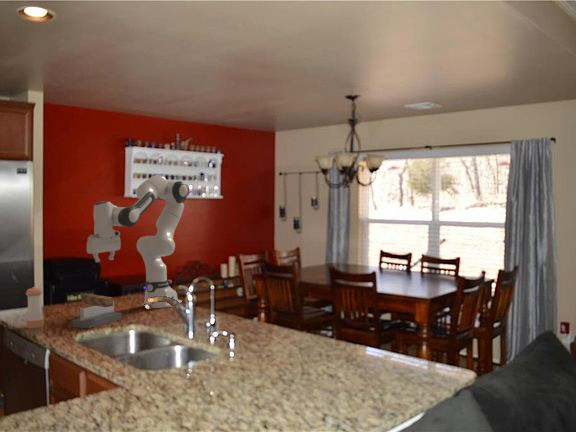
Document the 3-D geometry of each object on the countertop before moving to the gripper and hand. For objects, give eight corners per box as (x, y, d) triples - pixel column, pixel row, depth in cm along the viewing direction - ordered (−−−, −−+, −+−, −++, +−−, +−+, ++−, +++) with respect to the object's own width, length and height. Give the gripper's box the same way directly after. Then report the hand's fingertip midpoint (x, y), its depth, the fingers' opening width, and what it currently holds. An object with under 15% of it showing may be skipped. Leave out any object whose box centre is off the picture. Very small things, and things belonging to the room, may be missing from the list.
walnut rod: (113, 305, 265) (112, 297, 264) (105, 307, 261) (105, 298, 261) (89, 301, 277) (88, 293, 277) (82, 302, 274) (81, 294, 273)
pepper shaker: (46, 324, 267) (44, 285, 266) (38, 328, 260) (36, 288, 259) (32, 324, 268) (30, 285, 267) (23, 328, 261) (21, 288, 260)
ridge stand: (106, 317, 281) (105, 299, 281) (121, 318, 277) (121, 300, 277) (72, 327, 262) (72, 308, 261) (88, 328, 257) (88, 309, 257)
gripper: (92, 235, 266) (93, 263, 267) (122, 232, 285) (123, 258, 285) (83, 234, 269) (84, 263, 270) (113, 232, 288) (113, 258, 288)
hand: (104, 260), depth 278 cm, fingers open, 8 cm apart
